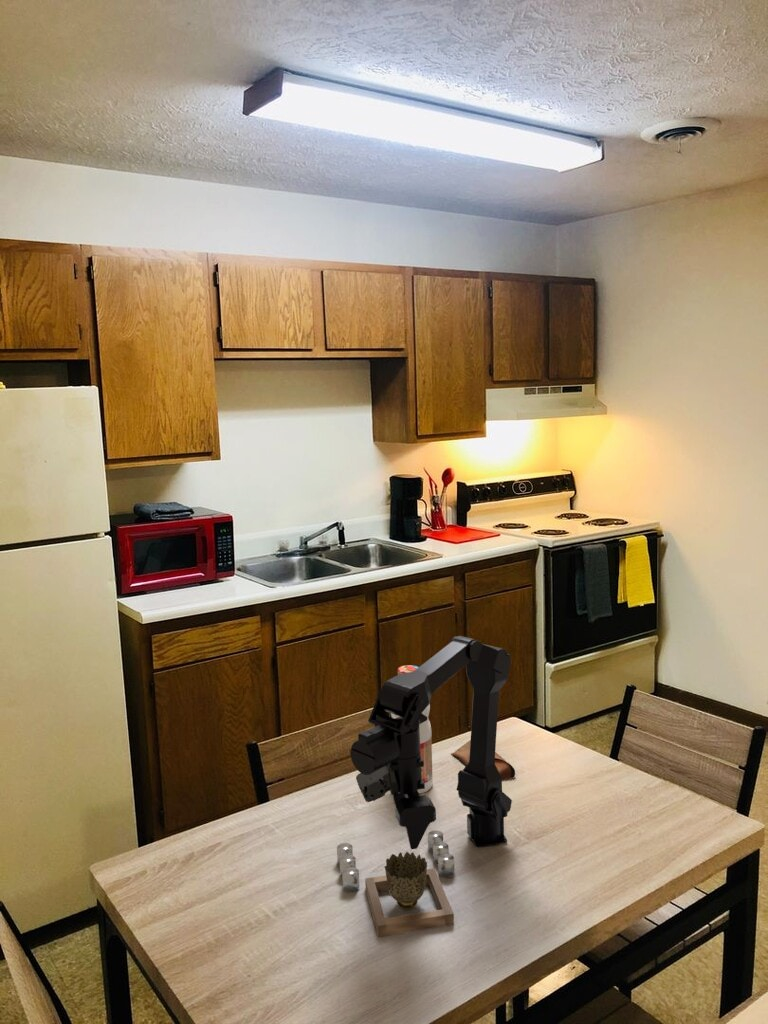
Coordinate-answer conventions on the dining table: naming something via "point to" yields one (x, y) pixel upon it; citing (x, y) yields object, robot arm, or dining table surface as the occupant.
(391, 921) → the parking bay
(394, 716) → the white plastic bottle
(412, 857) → the ornate brass lampshade
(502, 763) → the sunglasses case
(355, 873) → the spacer posts
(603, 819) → the dining table surface
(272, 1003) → the dining table surface
